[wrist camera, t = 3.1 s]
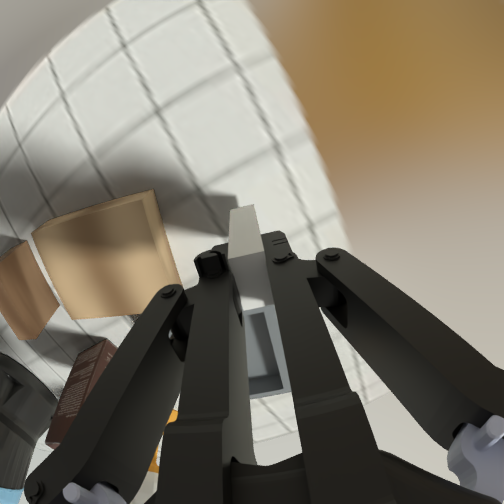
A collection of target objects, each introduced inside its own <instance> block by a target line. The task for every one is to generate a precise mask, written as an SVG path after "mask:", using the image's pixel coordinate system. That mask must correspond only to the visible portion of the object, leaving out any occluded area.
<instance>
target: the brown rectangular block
mask: <svg viewBox="0 0 504 504" xmlns="http://www.w3.org/2000/svg"><path fill="white" fill-rule="evenodd" d="M59 306H60V305H59V303H58V301H57V299H56V298H55V296H54V294H53V292H52V291H51V289H50V287H49V285H48V283H47V281H46V280H45V278H44V276H43V274H42V272H41V270H40V268H39V266H38V264H37V262H36V260H35V258H34V255H33V253H32V251H31V249H30V247H29V244H28V242H27V241H25V242H23V243H21V244H19V245H17V246H15V247H13V248H11V249H9V250H8V251H7V252H6V253H5V254H3V255H2V256H1V257H0V312H1V313H2V315H3V316H4V318H5V320H6V321H7V323H8V324H9V326H10V327H11V329H12V330H13V332H14V333H15V335H16V336H17V337H18V339H19V340H30V339H37V337H38V336H39V334H40V333H41V331H42V330H43V328H44V327H45V325H46V324H47V322H48V321H49V320H50V318H51V317H52V315H53V314H54V313H55V311H56V310H57V308H58V307H59Z"/></svg>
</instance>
